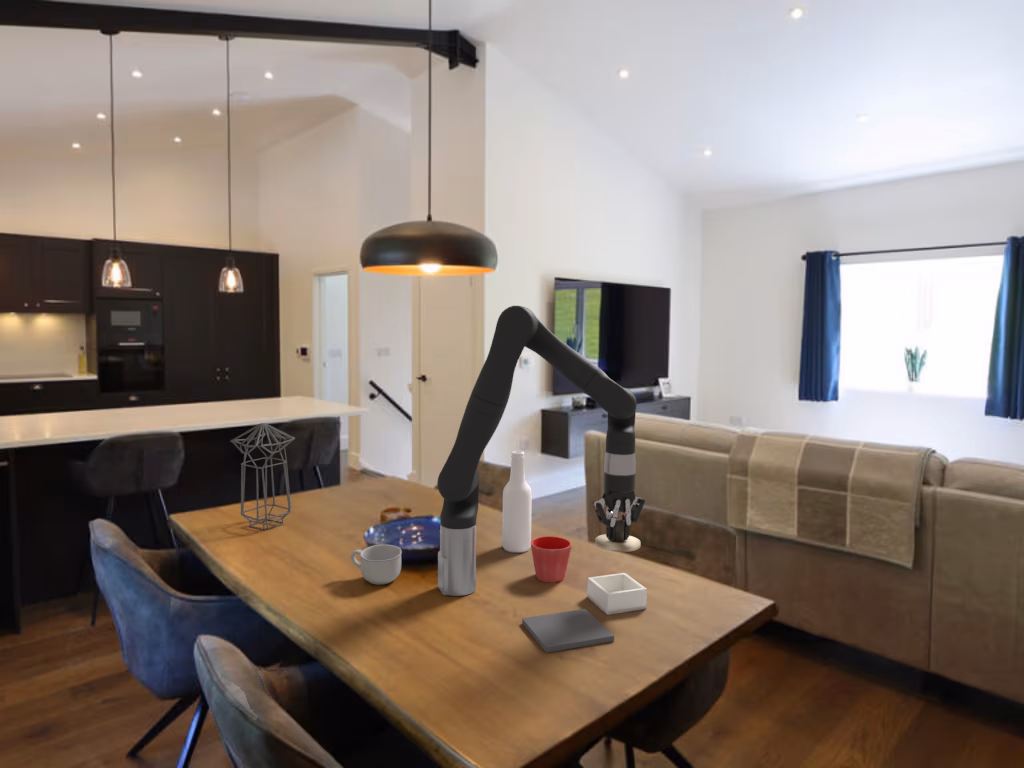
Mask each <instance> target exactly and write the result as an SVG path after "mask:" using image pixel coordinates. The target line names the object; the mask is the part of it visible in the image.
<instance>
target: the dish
mask: <svg viewBox="0 0 1024 768" xmlns="http://www.w3.org/2000/svg"><path fill="white" fill-rule="evenodd" d="M647 589H648V588H646V587H645V586H644V585H642V584H641V583H640V582H638V581H637V580H635V579H634V578H633V577H632V576H630V575H629V574H628V573H626V572H621V573H620V572H619V573H613V574H612V573H611V574H605V575H598V576H597V575H596V576H591V577H587V590H586V591H587V593H586V595H587V596H586V597H587V598H588V599H589V600H590V601H591V602H592V603H593V604H595V606H596V607H598V608H599V609H600V610H601V611H602V612H604V613H605V614H606V615H607V616H608V615H610V616H611V615H615V614H616V615H617V614H622V613H629V612H633V611H634V612H635V611H641V610H646V609H647V600H648V599H647V596H648V593H647V592H648V590H647Z"/></svg>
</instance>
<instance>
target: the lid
mask: <svg viewBox="0 0 1024 768" xmlns="http://www.w3.org/2000/svg"><path fill="white" fill-rule="evenodd" d="M624 525H625V521H624V520H622V518H616V521H615V525H614V527H615V541H613V542H611V541H610V540H608V538H607V537H606V533H604V534H600V535H598V536H596V537H595V539H594V541H595V542H594V544H595V545H596V547H598V548H600V549H603V550H606V551H610V552H619V553H628V552H629V553H630V552H634V551H637V550H639V549H640V548H641V540H640V539H639V538H637V537H635V536H632V535H629V537H628V539H627V540H624Z"/></svg>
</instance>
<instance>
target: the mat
mask: <svg viewBox="0 0 1024 768" xmlns="http://www.w3.org/2000/svg"><path fill="white" fill-rule="evenodd" d="M521 619H522V620H521V624H522V625H523V626H524V628H525V629H526V630H527V631H528V632H529V634H530V635H531V636H532V637H533V639H534V640H535V642H537V644H538V645H539V646H540V647H541V648H542V649H543V651H544V652H545V654H547V653H554V652H559V651H560V652H561V651H563V650H564V651H565V650H570V649H576V648H583V647H588V646H593V645H599V644H606V643H610V642H615V635H614V634H613V633H612V632H611V631H610V630H608V628H607V627H606V626H605V625H603V623H602V622H600V621H599V620H598V619H597V618H596V617H595V616H594V615H593V614H592V613H591V612H589V611H588V610H587V609H586V608H582V609H575V610H568V611H561V612H555V613H548V614H547V613H546V614H541V615H535V616H534V615H533V616H529V617H528V616H527V617H522V618H521Z"/></svg>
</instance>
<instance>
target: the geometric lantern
mask: <svg viewBox="0 0 1024 768" xmlns="http://www.w3.org/2000/svg"><path fill="white" fill-rule="evenodd" d="M248 433H250V434H249V435H248V436H247V437H246V438H242V437H244V436H245V435H247V434H248ZM282 435H283V436H282ZM255 436H256V437H255ZM265 436H266V437H267V440H268V443H266V444H263V440H264V438H265ZM260 437H261V438H260ZM270 437H271V439H273V441H274V442H275V443H272V442H271V439H270ZM240 438H241V439H240ZM278 439H279V440H278ZM295 439H296V437H294V436H293V435H290V434H288V433H286V432H285V431H282V430H280V429H278V428H276V427H274V426H272V425H270V424H268V423H267V422H265V423H264V422H260V423H259V424H256V425H254V426H253V427H252V428H250V429H248V430H246V431H245V432H243V433H242V434H240V435H238V436H236V437H235V438H233V439H230V441H229V443H232V444H233V445H234V446H235V447H236V448H237V450H238V451H239V452H240V454H243V462H241V463H240V465H241V466H240V468H241V470H240V471H241V472H240V474H241V475H240V476H241V477H240V485H241V486H240V516H242V517H243V518H244V519H246V520H247V521H248V522H249V527H250V528H255V529H259V530H262V531H265V530H270V529H273V528H276V527H279V526H283V525H285V523H284V518H286V517H287V516H288V515H290V514H291V512H292V507H291V506H292V504H291V503H292V502H291V494H290V481H289V469H288V460H287V453H286V447H288V445H289V444H291V443H292V442H293V441H295ZM253 440H254V444H250V442H252V441H253ZM281 440H283V441H282V442H281ZM260 443H261V445H259V444H260ZM238 444H239V445H238ZM269 446H270V449H268V448H267V447H269ZM273 446H275V448H274V450H273ZM243 447H244V450H243V449H242V448H243ZM256 447H257V448H258V449H259V450H260V451H261V453H262V454H263V455H264V456H265V457H260V458H256V459H253V458H252V456H251V454H250V453H251V452H252V451H253V450H255V449H256ZM249 449H250V450H249ZM262 449H264V450H265V451H266V452H268V453H270V455H269V456H267V454H266V453H265V452H264V451H263V450H262ZM277 449H278V450H277ZM282 450H284V451H283V452H284V455H285V456H283V454H282ZM276 453H279V455H280V458H277V457H273V456H274V455H275V454H276ZM247 455H248V457H249V459H250V460H247V461H246V458H247ZM284 457H285V459H284ZM263 459H265V461H264V464H263V465H262V466H257V464H256V463H255V461H260V460H263ZM269 460H270V464H269V465H268V461H269ZM273 460H276V461H277V460H278V461H281V462H278V463H275V464H273ZM249 462H252V463H253V465H251V464H250V465H249V464H247V463H249ZM278 465H283V472H284V473H283V474H284V482H285V489H286V491H285V492H286V498H287V507H286V506H282V505H278V504H276V501H275V500H276V498H275V483H274V470H273V468H274V466H278ZM246 467H248V468H249V467H250V468H254V469H255V471H256V473H255V475H256V479H255V480H256V507H253V508H250V509H246V510H244V509H245V487H246V486H245V483H246ZM268 468H270V471H271V472H270V473H271V487H272V488H271V489H272V502H273V503H271V504H268V503H267V502H268V476H267V475H268ZM259 469H260V470H261V476H262V477H261V478H262V489H263V490H262V491H263V492H262V493H263V501H264V504H262V505H259ZM264 471H265V472H264ZM267 507H271V508H270V511H269V513H268V510H267V509H268V508H267ZM274 507H276V508H277V507H278V508H281V509H284V510H287V511H286V512H284V513H279V514H272V511H273V509H274ZM261 508H264V512H265V513H264V514H261V515H259V511H260V510H259V509H261ZM255 510H256V516H255V517H253V516H249V515H247V514H245V513H248V512H252V511H255ZM264 516H265V517H264ZM261 517H264V518H261ZM278 517H279V518H278ZM260 518H261V519H260ZM274 518H278V519H274ZM280 520H281V521H280ZM268 521H269V522H268ZM264 522H265V523H264ZM275 522H276V523H279V524H276V525H273V526H270V527H269V524H272V523H275ZM257 524H259V525H262V527H258V526H254V525H257ZM265 526H266V528H265Z"/></svg>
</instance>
